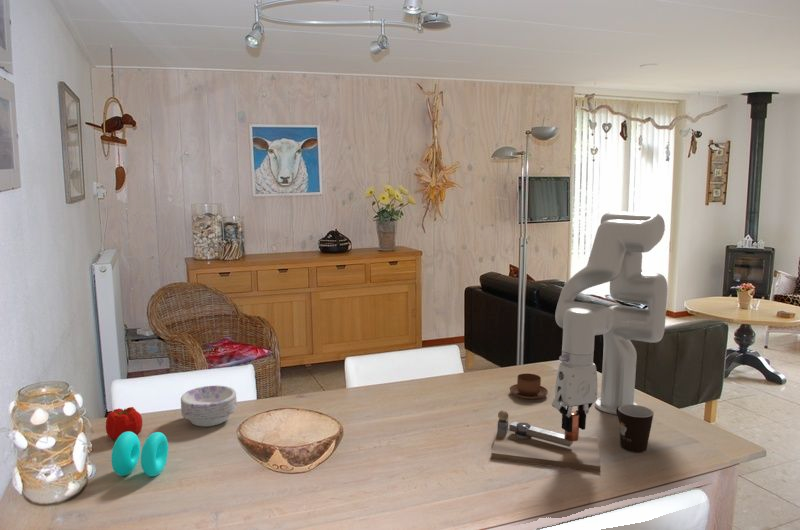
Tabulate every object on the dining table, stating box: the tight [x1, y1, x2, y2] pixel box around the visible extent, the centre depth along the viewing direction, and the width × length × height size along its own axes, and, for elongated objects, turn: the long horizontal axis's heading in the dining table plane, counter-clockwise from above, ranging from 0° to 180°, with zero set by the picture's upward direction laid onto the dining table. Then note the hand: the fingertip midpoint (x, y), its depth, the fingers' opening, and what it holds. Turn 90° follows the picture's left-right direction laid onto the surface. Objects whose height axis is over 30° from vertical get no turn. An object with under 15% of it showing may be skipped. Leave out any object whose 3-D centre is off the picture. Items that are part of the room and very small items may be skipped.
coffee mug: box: [616, 404, 655, 454], centre depth 160 cm, size 12×9×10 cm
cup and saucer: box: [509, 373, 549, 400], centre depth 196 cm, size 12×12×6 cm
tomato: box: [105, 406, 143, 441], centre depth 163 cm, size 9×9×8 cm
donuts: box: [110, 431, 169, 477], centre depth 143 cm, size 10×10×10 cm
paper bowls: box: [180, 385, 238, 428], centre depth 174 cm, size 15×15×8 cm
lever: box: [508, 410, 580, 447], centre depth 158 cm, size 18×4×8 cm, turn 55°
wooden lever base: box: [490, 409, 602, 473], centre depth 156 cm, size 16×26×7 cm, turn 75°
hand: (573, 428), depth 153 cm, fingers closed on lever, 3 cm apart
